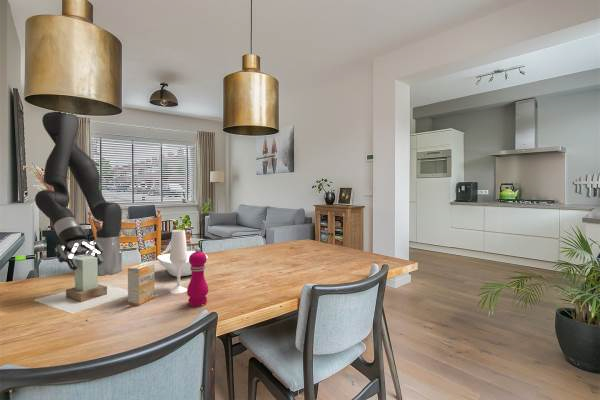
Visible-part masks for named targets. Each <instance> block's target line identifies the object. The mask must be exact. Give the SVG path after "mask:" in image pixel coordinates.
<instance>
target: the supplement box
mask: <svg viewBox="0 0 600 400" xmlns="http://www.w3.org/2000/svg"><path fill="white" fill-rule="evenodd" d="M127 290H128V296H127V302H128V303H129V305H132V306H141V305H142V304H144V303H146V302H147V301H149V300H152V299H154V298H155V263H154V262H141V263H139V264H136V265H133V266H130V267H128V268H127Z"/></svg>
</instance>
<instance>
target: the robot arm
mask: <svg viewBox="0 0 600 400" xmlns="http://www.w3.org/2000/svg"><path fill="white" fill-rule="evenodd" d="M41 120H42V125H43V127H44V130H45V131H46V133H47V134H48V135H49V137H50V139H51V140H52V142H53V144H54V147H53V149H52V150H51V151H50V154H49V156H48V157H47V159H46V162H45V165H44V166H45V167H44V174H43V182H44V184H46V185H48V186H51V187H52V188H53V190H49V189H48V190H47V189H45V190H44V189H43V190H40V191H38V192H37V193H36V194H35V197H34V202H35V205H36V206H37V208H38V209H39V210H40V211H41V212H42V213H43V214H44V215H45V216H46V217H47V218H48V219H50V220H49V221H50V222H51V224H52V226H53V228H54V230H55V233H56V235H57V237H58V238H59V240H60V242H61V244H62V245H61V244H57V245H56V246H55V248H54V253H55V255H56V258H57V260H58V262H59V263H66V264H67V265H68V266H69V269H70V270H72V271H74V272H75V270H76V269H77V268H78V266H77V264H76V262H75V258H73V257H74V256H79V255H85V254H86V255H87V256H92V257H97V261H98V276H109V275H114V274H118V273H119V272H122V270H123V269H122V268H123V266H122V264H123V262H122V261H123V258H122V256H123V255H122V251H121V249H120V243H121V242H120V232H121V229H122V222H123V220H122V218H123V211H122V208H121V206H120V204H118V203H116V202H114V201H113V202H112V201H110V202H109V201H106V199H105V198H104V196H103V193H102V192H101V176H100V172H99V170H98V168H97V166H96V164H95V162H94V160H93V159H92V158H91V157H90V156H89V155H88V154H87V153H86V152H85V151H84V150H82V149H81V148H80V147H79V146H78V145H77V144H76V142H75V141H76V139H77V135H78V133H79V132H78V131H79V128H80V121H79V118H78V117H77V115H76V114H75V115H73V114H66V113H61V112H56V111H49V112H47V113H44V114H43V116H42V118H41ZM68 169H69V170H70V173H71V174H72V177H73V178H74V179H75V181H76V183H77V185H78V187H79V189H80V190H81V192H82V194H83V196H84V198H85V200H86V203H87V206H88V208H89V210H90V213H91V215H92V217H93V218H94V219H95V220H96V221H98V222H102V227H101V228H100V229H98V230H97V231H96V232H95V239H94V240H93V241H89V240H88V239H87V235H86V234H85V232H84V230H83V228H82V226H81V225H80V222H78V220H77V219H76V217H75V215H74V213H73V212H72V210H71V209H70V208H68V206H69V204H70V199H71V198H70V193H69V189H68V188H69V187H68V183H67V182H68V181H67V179H68ZM65 252H68V255H67V256H66V254H65Z"/></svg>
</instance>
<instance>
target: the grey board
mask: <svg viewBox="0 0 600 400" xmlns="http://www.w3.org/2000/svg"><path fill="white" fill-rule="evenodd" d="M98 284H100V285H103V286H107V295H103V296H100V297H97V298H94V299H90V300H87V301H84V302H78V301H74V300H71V299H68V298H66V290H65V291H62V292H59V293H54V294H51V295H47V296H43V297H40V298H35V299H33V302H37V303H40V304H43V305H45V306H49V307H52V308H55V309H57V310H60V311H62V312H66V313H69V314H72V315H73V314H76V313H80V312H82V311H86V310H88V309H91V308H95V307H98V306H100V305H103V304H107V303H109V302H112V301H115V300H119V299H122V298H124V297H128V289H124V288H121V287H116V286H113V285H110V284H106V283H105V284H104V283H101V282H98Z"/></svg>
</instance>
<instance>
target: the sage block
mask: <svg viewBox="0 0 600 400" xmlns="http://www.w3.org/2000/svg"><path fill="white" fill-rule="evenodd" d="M74 260H75V262H76V264H77V266H78V268H77V269H76V270H74V287H75V289H77V290H81V291H86V290H89V289H93V288H97V287H98V283H99V280H98V279H99V275H98V261H97V257H93V256H91V255H87V256H80V257H76V258H74Z"/></svg>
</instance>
